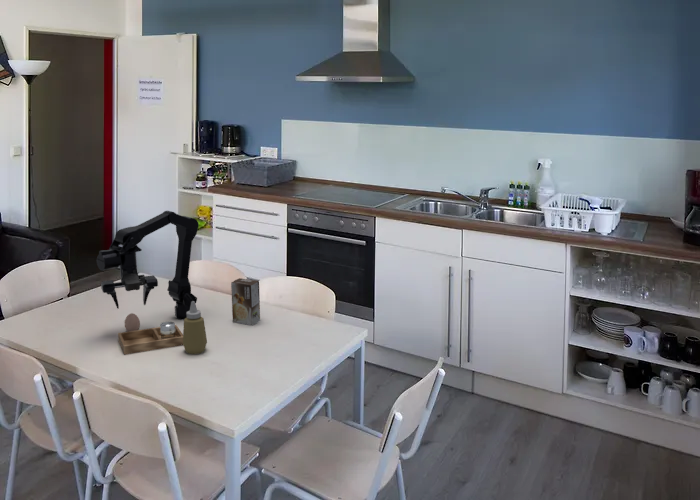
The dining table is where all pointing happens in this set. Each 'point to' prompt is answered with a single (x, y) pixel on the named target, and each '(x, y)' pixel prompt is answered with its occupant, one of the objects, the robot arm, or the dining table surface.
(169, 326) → the tin
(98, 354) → the dining table surface
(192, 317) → the squeeze bottle
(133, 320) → the egg
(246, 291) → the coffee box
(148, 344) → the crate
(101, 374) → the dining table surface
